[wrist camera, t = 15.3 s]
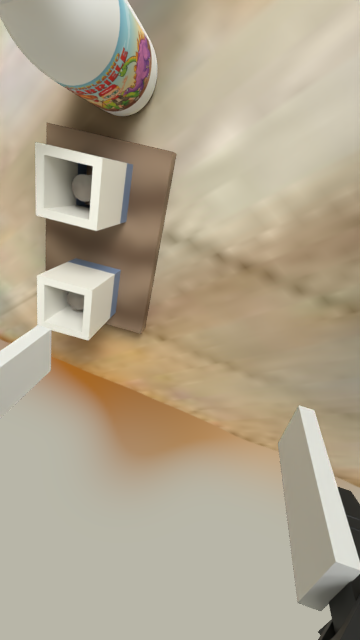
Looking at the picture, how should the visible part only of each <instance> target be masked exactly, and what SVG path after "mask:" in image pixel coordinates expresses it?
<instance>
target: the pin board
mask: <svg viewBox="0 0 360 640" xmlns="http://www.w3.org/2000/svg"><path fill="white" fill-rule="evenodd" d="M47 145H52V146H56V147H60V148H65V149H69V150H74V151H78V152H82V153H87V154H91V155H95V156H99V157H103V158H108V159H112V160H116V161H120V162H124V163H129V164H133V171H132V179H131V187H130V195H129V203H128V212H127V220H126V222H124V223H121V224H117V225H114V226H111V227H108V228H105V229H101V230H98V231H95V230H91V229H87V228H83V227H79V226H75V225H71V224H67V223H64V222H60V221H56V220H52V219H48V218H46V271H48V270H50V269H52V268H55V267H57V266H59V265H61V264H64V263H66V262H68V261H71V260H73V259H75V258H77V259H81V260H85V261H88V262H92V263H96V264H100V265H104V266H108V267H111V268H115V269H119V270H121V273H120V281H119V289H118V297H117V305H116V313H115V314H114V315H113V316H112V317H111V318H110V319H109V320H108V321H107V322H106V323H105V324H108V325H111V326H115V327H119V328H122V329H126V330H129V331H133V332H137V333H140V334H141V333H142V332H143V330H144V328H145V326H146V320H147V315H148V309H149V303H150V298H151V292H152V287H153V281H154V276H155V270H156V265H157V259H158V253H159V248H160V242H161V237H162V231H163V226H164V220H165V215H166V209H167V203H168V198H169V192H170V187H171V181H172V176H173V170H174V165H175V159H176V153H174V152H171V151H167V150H162V149H158V148H154V147H149V146H145V145H141V144H137V143H132V142H128V141H124V140H119V139H115V138H111V137H106V136H102V135H98V134H94V133H89V132H85V131H81V130H76V129H72V128H68V127H63V126H59V125H55V124H50V123H47ZM92 170H93V166H89V165H87V174H86V175H83V174H81V175H77V176H76V177H75V178H74V179H73V181H72V191H73V193H74V195H75V197H76V198H77V199H79V200H81V201H84V202H85V204H87V205H90V199H91V185H92ZM67 301H68V303H69V305H70V306H71V307H72V308H74V309H77V310H81V309H83V308H84V295H81V294H78V293H74V292H69V293H68V295H67Z"/></svg>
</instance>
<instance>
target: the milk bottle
mask: <svg viewBox="0 0 360 640" xmlns="http://www.w3.org/2000/svg"><path fill="white" fill-rule="evenodd" d="M0 18H1V20H2V21H3V23H4V25H5V27H6V29H7V31H8V32H9V34H10V36H11V38H12V39H13V41H14V42H15V43H16V45H17V46H18V48H19V49H20V50H21V51H22V53H23V54H24V55H25V56H26V57H27V58H28V59H29V60H30V62H31V63H32V64H34V65H35V66H36V67H37V68H38V69H39V70H40V71H41V72H43V73H44V74H45V75H47V76H48V77H50V78H51V79H53V80H54V81H56V82H57V83H58V84H60V85H62V86H63V87H65V88H67V89H68V90H70V91H72V92H73V93H75V94H77V95H78V96H80V97H82V98H83V99H85V100H87V101H88V102H90V103H92V104H94V105H95V106H97V107H99V108H101V109H102V110H104V111H106V112H108V113H110V114H113V115H116V116H129V115H132V114H134V113H136V112H138V111H139V110H141V109H142V108H143V107H144V106H145V105H146V104H147V102H148V101H149V99H150V98H151V96H152V94H153V91H154V89H155V85H156V80H157V59H156V54H155V51H154V48H153V45H152V43H151V41H150V39H149V37H148V35H147V33H146V32H145V30H144V28H143V27H142V25H141V23H140V21H139V20H138V18H137V16H136V15H135V13H134V11H133V9H132V8H131V6H130V4H129V3H128V1H127V0H0Z"/></svg>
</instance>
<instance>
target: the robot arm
mask: <svg viewBox="0 0 360 640" xmlns="http://www.w3.org/2000/svg"><path fill="white" fill-rule="evenodd" d="M50 371H51V329H49V328H46V327H43V326H39V325H37V326H36V327H35V328H33V329H32V330H30V331H29V332H27V333H26V334H24V335H23V336H21V337H20V338H18V339H17V340H15V341H14V342H13V343H11V344H10V345H8V346H7V347H5V348H4V349H2V350H1V351H0V419H1V418H2V417H3V416H4V415H5V414H6V413H7V412H8V411H9V410H10V409H11V408H12V407H13V406H14V405H15V404H16V403H17V402H18V401H19V400H20V399H21V398H22V397H24V395H26V394H27V393H28V392H29V391H30V390H31V389H32V388H33V387H34V386H35V385H36V384H37V383H38V382H39V381H40V380H41V379H42V378H43V377H44V376H45V375H47V374H48V373H49V372H50ZM278 448H279V455H280V464H281V472H282V481H283V489H284V497H285V505H286V513H287V521H288V529H289V537H290V546H291V554H292V561H293V570H294V578H295V586H296V594H297V602H298V603H299V604H302V605H305V606H308V607H310V608H313V609H316V610H318V611H322V610H323V609H324V608H325V607H326V606H327V605H328V604H329V606H330V611H331V616H332V620H330V621H329V622H328V623H327V624H326V625H325V626H324V627H323V628H322V629H320V630H319V632H318V633H320V635H321V636H320V638H319V639H318V640H360V504H359V503H358V501H357V500H356V498H355V497H354V495H353V494H352V492H351V491H349V490H346V489H343V488H340V487H337V484H336V481H335V478H334V474H333V471H332V468H331V464H330V461H329V458H328V454H327V451H326V448H325V444H324V441H323V438H322V434H321V431H320V428H319V424H318V421H317V418H316V414H315V411H314V410H312V409H309V408H306V407H302V406H298V407H297V409H296V411H295V413H294V415H293V417H292V418H291V420H290V422H289V424H288V426H287V428H286V429H285V431H284V433H283V435H282V437H281V439H280V441H279V442H278Z"/></svg>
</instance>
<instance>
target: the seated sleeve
mask: <svg viewBox="0 0 360 640" xmlns="http://www.w3.org/2000/svg"><path fill="white" fill-rule="evenodd" d="M87 165H89V166H93V170H92V185H91V199H90V205H87V204H85V202H84V201H81V200H79V199H77V198H76V197H75V195H74V193H73V191H72V181H73V179H74V178H75V177H76V176H77V175H81V174H83V175H86V174H87ZM132 171H133V164H129V163H124V162H120V161H116V160H112V159H108V158H103V157H99V156H95V155H91V154H87V153H82V152H78V151H74V150H69V149H65V148H60V147H56V146H52V145H47V144H43V143H38V142H35V172H36V216H40V217H44V218H48V219H52V220H56V221H60V222H64V223H67V224H71V225H75V226H79V227H83V228H87V229H91V230H95V231H98V230H101V229H105V228H108V227H111V226H114V225H117V224H121V223H124V222H126V220H127V212H128V203H129V195H130V187H131V179H132Z"/></svg>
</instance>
